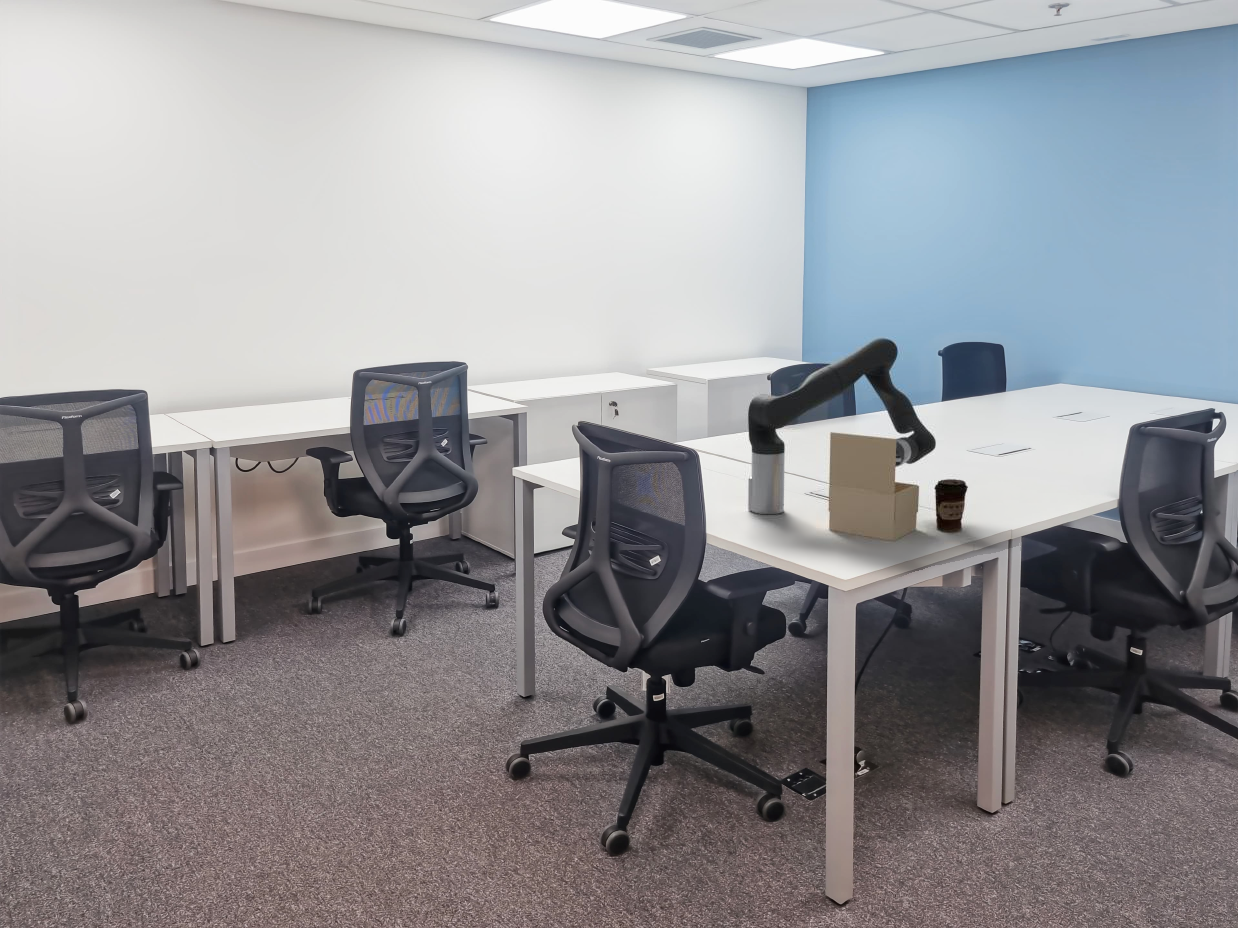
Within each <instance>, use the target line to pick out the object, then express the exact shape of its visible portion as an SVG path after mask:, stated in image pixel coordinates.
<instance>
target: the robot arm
mask: <svg viewBox="0 0 1238 928" xmlns="http://www.w3.org/2000/svg"><path fill="white" fill-rule="evenodd" d="M898 351H899V349H898V346H897V344H896V343H895V342H894V341H893V340H891V339H888V338H884V337H881V338H876V339H873V340H871V341H869V342H867V343H866V344H865V345H863V346H861V347H860V348H859V349H856V351H854V352H852V353H850V354H849V355H846V356H844V357H843V358H842V357H841V358H840V359H839V360H836V361H834V362H833V363H831V364H829V365H825V366H824V367H822V368H820V369H818V370H816V371H814V372H813V373H811V374H810V375H808V376H807V377H806V378H805V379H804V381H803V383H802V384H801V385H800V387H798V388H797V389H795V390H794V391H790V392H788V393H786V394H783V395H778V396H776V395H771V394H764V393H763V394H758V395H756V396H755V397H753V398H752V400H751V401H750V403H749V406H748V412H747V413H748V414H747V423H748V426H747V427H748V441H749V443H750V445H751V476H750V477H748V486H747V487H748V491H747V492H748V493H747V497H748V503H747V506H748V507H747V510H748V511H751V512H752V513H755V514H760V515H777V514H781V513H783V512H784V510H785V509H784V508H785V507H784V505H785V459H786V458H785V457H786V456H785V454H786V453H785V451H786V449H785V448H786V447H785V445H786V444H785V442H784V440H783V439H781V438H780V436H779V435H778V434H777V430H778V429H779V430H780V429H782V428H784V427H786V426H787V425H789V424H791V423H792V422H793V421H795V420H796V419H798V418H799V417H800V416H803V415H804V414H805V413H807V412H809V411H811V410H814V409H815V408H816V407H819V406H821V405H822V404H825V403H827V402H829V401H831V400H833V399H835V398H837V397H838V396H840V395H842V394H843V393H845V392H847V390H849V389H850V388H851V387H853V385H854V384H856V383H857V381H859V380H860V378H862V377H863V376H865V378H866V379H867V381H868V382H869V384H870V385H871V386H872V388H873V390H874V392H875V393H876V394H877V396H878V397H879V399H880V401H881V402H882V403H883V405H884V407H885V409H886V411H887V414H888V416H889V418H890V420H891V422H892V425H893V428H894V429H895V431H896V433H898V434H901V435H905V434H909V433H912V432H913V433H912V434H910V435H909V436H903V437H899V438H895V439H896V467H895V468H897V467H900V466H902V465H904V464H907V465H911V464H915V463H916V462H918V461H919V460H921V459H923V458H924V457H926V456H927V455H928V454H931V453H932V452H933V451H934V450H935V449H936V445H937V444H936V443H937V442H936V438H935V436H934V435H933V433H931V432H930V430H928V428H927V427H926V426H925V425H924V424H923V423H922V421H921V420H920V419H919V417H918V415H917V412H916V411H915V408H914V406H913V404H912V402H911V400H910V399H909V398H908V397H907V395H905V394H904V393H903V392H902V391H900V390H899V389H898V388H896V387H895V386H894V384H893V382H892V378H891V375H890V371H891V370H892V367H893V366H894V364H895V362H896V360H897V357H898V353H899V352H898Z"/></svg>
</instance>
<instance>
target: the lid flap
mask: <svg viewBox="0 0 1238 928" xmlns="http://www.w3.org/2000/svg"><path fill="white" fill-rule="evenodd" d="M829 433H830V437H829V438H830V439H829V477H828V478H829V480H828V481H829V485H833V486H840V487H847V488H854V489H861V490H868V491H875V492H882V493H889V494H895V482H896V468H897V467H896V439H897V438H890V437H881V436H880V437H879V436H872V435H861V434H853V433H852V434H851V433H845V432H833V431H830V432H829ZM829 485H828V486H829Z"/></svg>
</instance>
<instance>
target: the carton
mask: <svg viewBox="0 0 1238 928" xmlns="http://www.w3.org/2000/svg"><path fill="white" fill-rule="evenodd" d="M919 497H920V486H919V484H912V483H904V482H899V481H898V482H897V481H895V494H889V493H882V492H875V491H868V490H861V489H854V488H847V487H840V486H833V485H828V512H829V514H828V517H829V519H828V521H829V522H828V525H829V526H828V530H829V531H833V532H838V533H843V534H850V535H856V536H861V537H862V536H863V537H868V538H873V539H880V540H886V541H892V542H894V541H895V540H897V539H898V540H899V538H902V537H904V536H906V535H908V534H910V533H911V532H914V531H916V530H917V517H918V515H917V513H919V499H920V498H919Z"/></svg>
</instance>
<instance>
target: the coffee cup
mask: <svg viewBox="0 0 1238 928" xmlns="http://www.w3.org/2000/svg"><path fill="white" fill-rule="evenodd" d="M968 488H969V486H968V485H967V484H966V482H965V480H962V479H954V478H953V479H952V478H951V479H950V478H949V479H948V478H947V479H941V480H938V481H937V483H936V484H935V486H934V491H935V496H934V497H935V515H936V519H935V520H936V521H935V522H936V529H937V530H938V531H942V532H960V531H962V530H963V527H962V524H963V523H962V519H963V517H964V516H963V515H964V510H965V506H966V502H965V501H966V493H967V491H968Z"/></svg>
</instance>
